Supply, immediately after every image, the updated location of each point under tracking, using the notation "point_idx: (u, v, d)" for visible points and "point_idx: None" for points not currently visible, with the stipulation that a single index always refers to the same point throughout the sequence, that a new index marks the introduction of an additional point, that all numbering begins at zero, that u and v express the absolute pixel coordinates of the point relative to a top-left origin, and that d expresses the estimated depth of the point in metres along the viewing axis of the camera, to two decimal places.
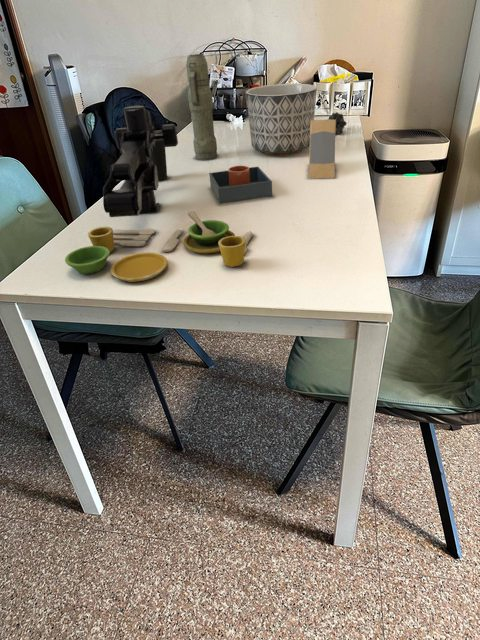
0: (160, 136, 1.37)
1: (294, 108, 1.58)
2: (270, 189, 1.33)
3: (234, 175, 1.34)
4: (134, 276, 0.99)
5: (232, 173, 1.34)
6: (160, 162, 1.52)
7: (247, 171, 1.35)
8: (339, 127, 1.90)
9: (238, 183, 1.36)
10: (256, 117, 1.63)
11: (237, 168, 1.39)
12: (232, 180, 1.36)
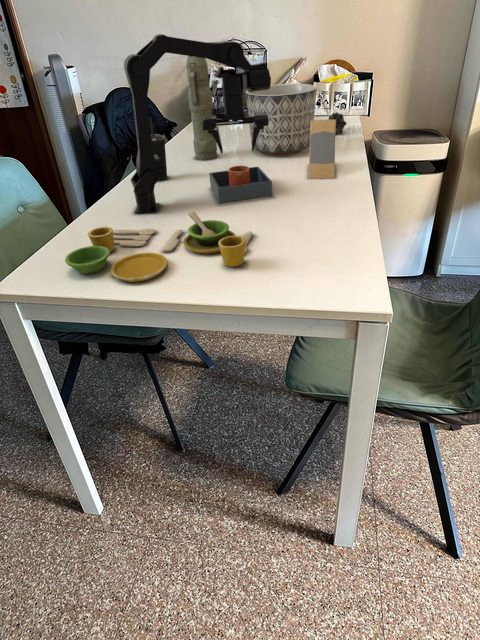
0: (250, 116, 1.28)
1: (294, 108, 1.58)
2: (270, 189, 1.33)
3: (234, 175, 1.34)
4: (134, 276, 0.99)
5: (232, 173, 1.34)
6: (160, 162, 1.52)
7: (247, 171, 1.35)
8: (339, 127, 1.90)
9: (238, 183, 1.36)
10: None
11: (237, 168, 1.39)
12: (232, 180, 1.36)
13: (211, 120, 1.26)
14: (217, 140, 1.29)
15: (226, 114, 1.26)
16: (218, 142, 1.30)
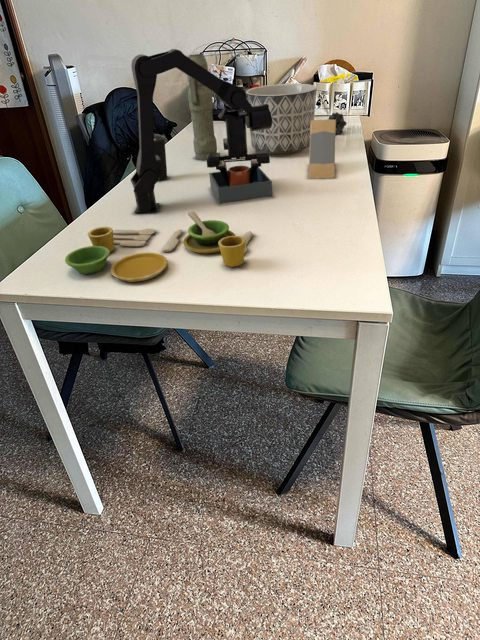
0: None
1: (294, 108, 1.58)
2: (270, 189, 1.33)
3: (234, 175, 1.34)
4: (134, 276, 0.99)
5: (232, 173, 1.34)
6: None
7: (247, 171, 1.35)
8: (339, 127, 1.90)
9: (238, 183, 1.36)
10: None
11: (237, 168, 1.39)
12: (232, 180, 1.36)
13: (215, 158, 1.32)
14: (225, 176, 1.35)
15: (229, 152, 1.32)
16: (225, 177, 1.36)
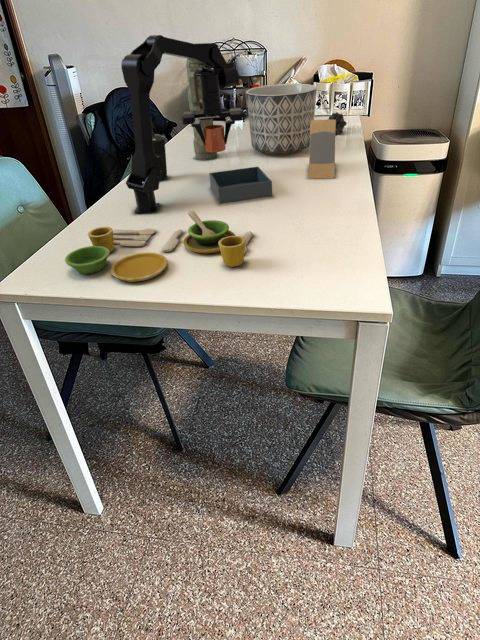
0: (227, 112, 1.40)
1: (294, 108, 1.58)
2: (270, 189, 1.33)
3: (209, 132, 1.40)
4: (134, 276, 0.99)
5: (207, 130, 1.40)
6: None
7: (221, 129, 1.40)
8: (339, 127, 1.90)
9: (213, 140, 1.41)
10: (256, 116, 1.63)
11: (213, 127, 1.45)
12: (207, 137, 1.41)
13: (190, 115, 1.38)
14: (200, 133, 1.41)
15: (204, 109, 1.38)
16: (201, 135, 1.42)
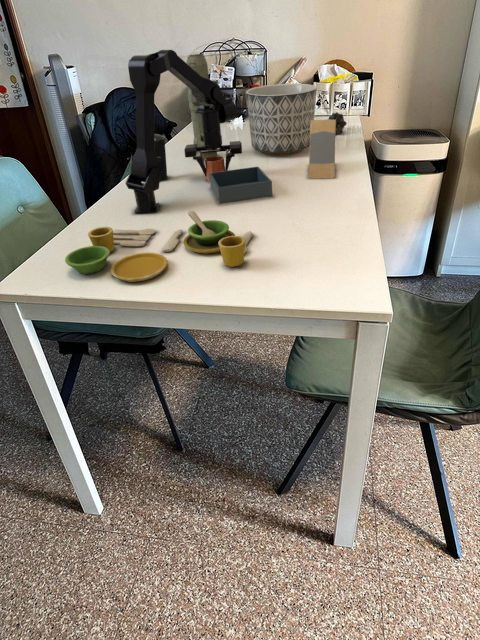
0: (227, 145, 1.47)
1: (294, 108, 1.58)
2: (270, 189, 1.33)
3: (210, 164, 1.47)
4: (134, 276, 0.99)
5: (208, 162, 1.47)
6: None
7: (222, 161, 1.48)
8: (339, 127, 1.90)
9: None
10: (256, 117, 1.63)
11: (213, 158, 1.52)
12: (208, 169, 1.49)
13: (192, 148, 1.45)
14: (201, 165, 1.48)
15: (205, 143, 1.45)
16: (202, 167, 1.49)
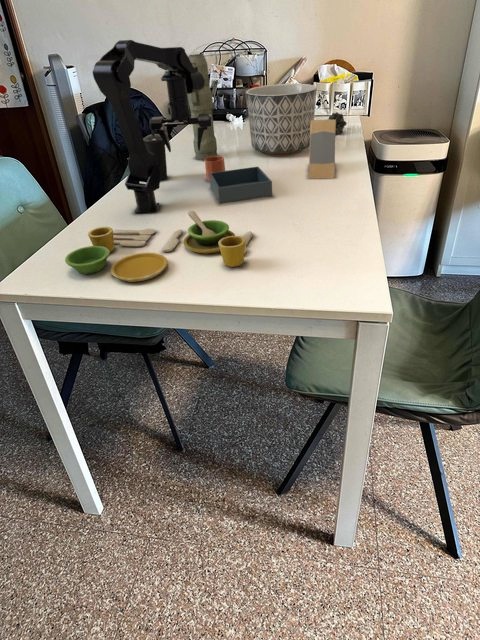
0: (195, 117, 1.36)
1: (294, 108, 1.58)
2: (270, 189, 1.33)
3: (210, 164, 1.47)
4: (134, 276, 0.99)
5: (208, 162, 1.47)
6: (160, 162, 1.52)
7: (222, 161, 1.48)
8: (339, 127, 1.90)
9: None
10: (256, 117, 1.63)
11: (213, 158, 1.52)
12: (208, 169, 1.49)
13: (157, 120, 1.34)
14: (164, 139, 1.38)
15: (171, 115, 1.34)
16: (165, 141, 1.38)
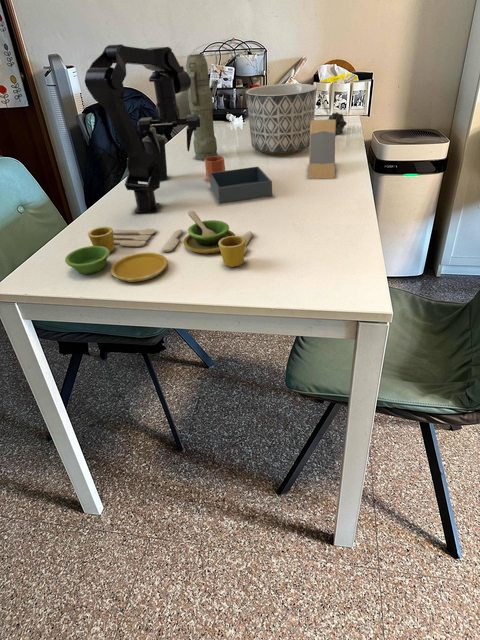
0: (184, 118, 1.35)
1: (294, 108, 1.58)
2: (270, 189, 1.33)
3: (210, 164, 1.47)
4: (134, 276, 0.99)
5: (208, 162, 1.47)
6: (160, 162, 1.52)
7: (222, 161, 1.48)
8: (339, 127, 1.90)
9: None
10: (256, 117, 1.63)
11: (213, 158, 1.52)
12: (208, 169, 1.49)
13: (145, 121, 1.32)
14: (153, 140, 1.36)
15: (160, 116, 1.32)
16: (154, 142, 1.37)
